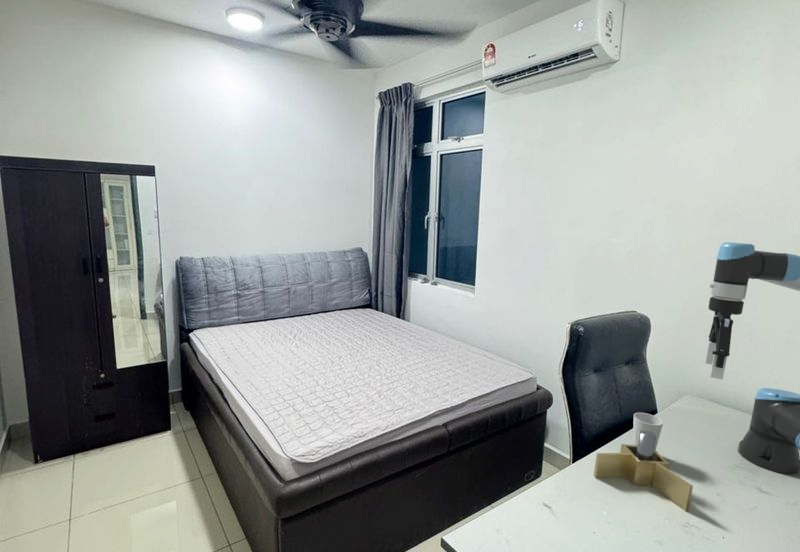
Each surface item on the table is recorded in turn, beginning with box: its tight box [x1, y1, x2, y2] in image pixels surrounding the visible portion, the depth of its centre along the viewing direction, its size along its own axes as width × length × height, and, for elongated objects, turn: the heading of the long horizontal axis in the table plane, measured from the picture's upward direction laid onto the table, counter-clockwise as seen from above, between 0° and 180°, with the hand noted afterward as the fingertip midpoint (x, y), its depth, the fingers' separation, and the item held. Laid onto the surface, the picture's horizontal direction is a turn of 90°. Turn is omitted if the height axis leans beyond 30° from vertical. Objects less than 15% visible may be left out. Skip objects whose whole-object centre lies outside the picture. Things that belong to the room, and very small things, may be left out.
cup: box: [631, 412, 664, 451], centre depth 132 cm, size 8×8×12 cm
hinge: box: [593, 443, 694, 512], centre depth 116 cm, size 19×18×7 cm
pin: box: [636, 431, 656, 461], centre depth 120 cm, size 4×4×13 cm
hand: (713, 370), depth 120 cm, fingers open, 13 cm apart
